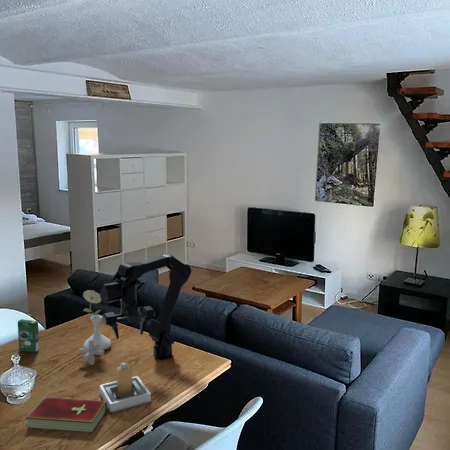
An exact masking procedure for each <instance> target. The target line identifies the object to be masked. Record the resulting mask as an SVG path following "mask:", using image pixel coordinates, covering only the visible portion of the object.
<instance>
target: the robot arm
mask: <svg viewBox="0 0 450 450" xmlns="http://www.w3.org/2000/svg"><path fill="white" fill-rule="evenodd" d="M165 267H166V268H167V269H168V270H169V275H168V276H169V277H168V278H169V284H168V287H167V291H166V294H165V297H164V299H163V302H162V305H161V308H160V311H159V313H158V316H157V317H156V311H155V310H154V309H153V307H152V306H150V305H148V306H146V305H145V306H140V307H139V304H138V300H137V285H142V282H141V281H140V280H139V279H140V278H141V277H143V275H145V274H147V273H150V272H153V271H156V270H158V269H161V268H165ZM191 273H192V268H191V266H190V265H189V264H186V263H183V262H182V261H180V260H178V259H177V258H176V257H175V256H174V255H172V254H171V255H170V254H168V253H164V254H162V255H159V256H156V257H152V258H149V259H145V260H143V261H139V262H132V261H131V262H124V263H120V264H119V266H118V267H117V271H116V273H115V274H114V277H113V278H112V280H111V282H110V283H104V284H102V288H101V289H100V292H99V294H100V297H101V302H102V303H103V304H110V303H113V302H116V301H120V313H118V314H117V313H115V312H114V311H111V312H105V313H103V314H102V315H101V316H102V318H101V319H102V322H103V323H104V324H105V325H106V326H109V327H111V328H112V331H113V333H114V335H115V337H116V339H117V340H119V338H120V337H119V335H120V334H119V329H118V325H119V324H118V320H123V319H127V322H128V323H129V324H134V323H139V333H140V335H141V336H142V335H143V334H144V332H145V331H144V330H145V328H146V325H147V323H148V322H149V321H150V324H149V326H148V327H147V329H148V336H149V337H150V338H151V340H152V341H154V346H153V356H154V357H155V358H156V360H158V361H165V360H168V359H173V358H174V357H175V356H174V355H173V345H174V344H175V342H176V337H174V336H173V335H172V334H171V331H172V328H171V327H172V326H171V318H172V316H173V313H174V310H175V307H176V303H177V301H178V298H179V296H180V293H181V289H182V287H183V286H184V285H185V284H186V283H187V282H188V281H189V278H190V277H191ZM155 317H156V318H155ZM152 318H155V319H152Z"/></svg>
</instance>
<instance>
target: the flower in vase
mask: <svg viewBox="0 0 450 450" xmlns="http://www.w3.org/2000/svg"><path fill="white" fill-rule="evenodd" d="M82 297H83V298H84V299H85V301H86V302H89V308H87V307H85V308H84V309H83V310H82V312H87V313H92V316H90V317H89V318H90V320H91V321H92V324H93V333H92V335H91V336H90V337H89V338H87V339H86V340H85V341H84V342H83V347H82V348H84V349H89V339H93V342H94V346H95V345H97V344H98V345H99V346H100V347H99V349H98V350H104V351H105V350H107V349H108V348H110V346H111V345H112V341H111V339H109V338H108V337H106V336H105V335H103V334H102V333H101V331H100V324H101V320H102V319H103V318H102V316H103V315H100V314H99V313H100V312H101V311H102V309H98V310H96V311H95V312H93V311H92V308H91V307H92V304H99V303H101V302H102V300H101V297H100V293H98V292H96V291H95V290H92V289H89V290H88V289H87V290H85V291H84V292H83V293H82Z"/></svg>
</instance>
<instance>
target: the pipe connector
mask: <svg viewBox="0 0 450 450" xmlns="http://www.w3.org/2000/svg"><path fill="white" fill-rule="evenodd" d="M88 339H89V338H88ZM99 347H100V346H99V345H98V344H97V345H95V346H94V342H93V339H89V349H85V348H84V347H82V348H81V347H80V348H78V353H79V354H84V355H83V356H82V358H83V360H85V361H86V360H88V359H89V365H90V366H93V365H95V356H104V355H105V350H98V349H99Z"/></svg>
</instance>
